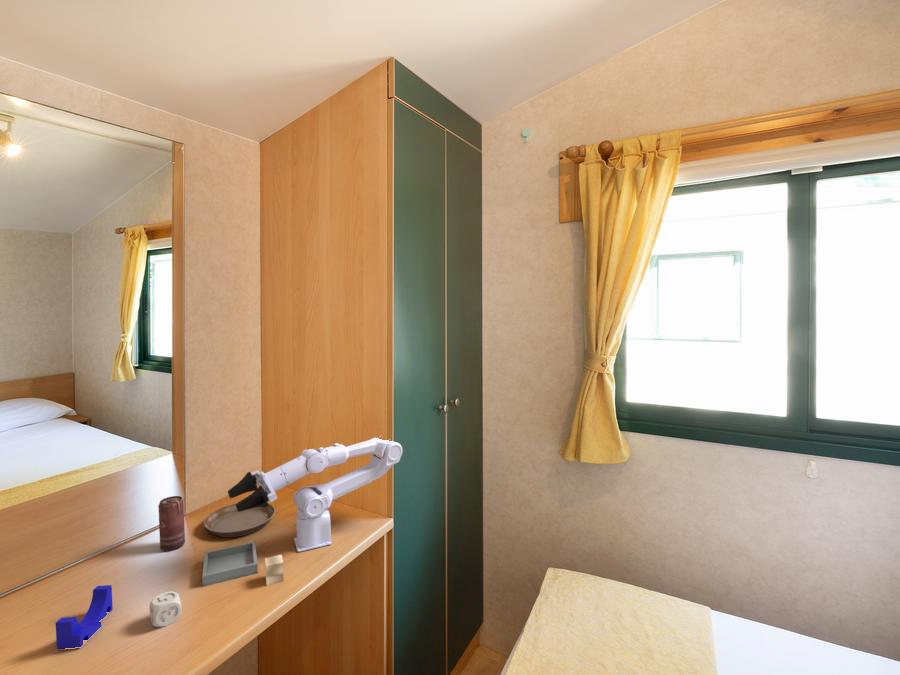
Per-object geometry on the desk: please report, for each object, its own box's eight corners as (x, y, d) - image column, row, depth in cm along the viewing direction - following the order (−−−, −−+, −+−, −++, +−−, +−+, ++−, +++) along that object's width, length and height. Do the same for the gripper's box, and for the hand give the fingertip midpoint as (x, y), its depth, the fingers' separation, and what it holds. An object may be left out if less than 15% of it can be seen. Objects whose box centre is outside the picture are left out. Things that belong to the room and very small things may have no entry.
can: (174, 553, 125) (172, 505, 124) (155, 550, 126) (153, 503, 125) (190, 542, 131) (188, 496, 130) (172, 539, 132) (170, 494, 131)
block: (281, 572, 115) (281, 554, 115) (283, 581, 112) (283, 562, 112) (265, 577, 114) (264, 558, 113) (266, 585, 110) (266, 566, 110)
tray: (255, 549, 127) (254, 541, 126) (257, 572, 115) (257, 563, 115) (205, 560, 121) (204, 552, 121) (202, 586, 110) (202, 576, 110)
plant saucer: (284, 526, 141) (284, 516, 140) (212, 549, 127) (212, 538, 127) (263, 505, 156) (263, 495, 156) (198, 523, 143) (197, 513, 143)
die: (149, 619, 98) (148, 598, 98) (175, 608, 102) (174, 588, 101) (155, 631, 94) (154, 608, 94) (181, 619, 98) (181, 597, 98)
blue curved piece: (80, 649, 90) (79, 621, 89) (57, 651, 89) (55, 622, 89) (119, 609, 101) (118, 584, 101) (98, 610, 101) (97, 585, 101)
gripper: (270, 454, 128) (221, 477, 120) (288, 475, 118) (236, 502, 110) (276, 474, 131) (228, 498, 123) (295, 496, 120) (244, 524, 112)
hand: (232, 501), depth 116 cm, fingers open, 7 cm apart
